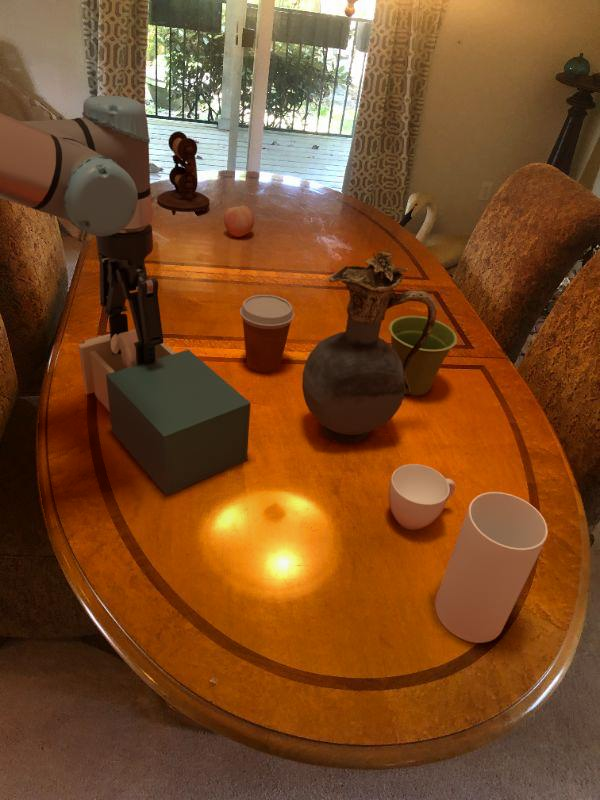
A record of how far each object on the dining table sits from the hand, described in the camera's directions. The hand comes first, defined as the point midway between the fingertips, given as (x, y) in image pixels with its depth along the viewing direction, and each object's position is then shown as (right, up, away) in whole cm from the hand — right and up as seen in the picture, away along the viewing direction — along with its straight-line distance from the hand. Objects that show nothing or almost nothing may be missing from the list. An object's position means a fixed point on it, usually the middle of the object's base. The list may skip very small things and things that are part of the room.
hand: (133, 364), depth 97 cm
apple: (+10, +38, +67) cm, 78 cm away
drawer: (-1, -5, +4) cm, 7 cm away
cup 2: (+46, -31, -23) cm, 60 cm away
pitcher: (+35, -10, +4) cm, 37 cm away
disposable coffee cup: (+19, +1, +17) cm, 26 cm away
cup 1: (+42, -22, -11) cm, 49 cm away
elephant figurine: (0, 0, 0) cm, 0 cm away
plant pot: (+46, -3, +16) cm, 49 cm away
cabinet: (+8, -13, -4) cm, 15 cm away
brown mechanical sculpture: (-7, +49, +80) cm, 95 cm away
